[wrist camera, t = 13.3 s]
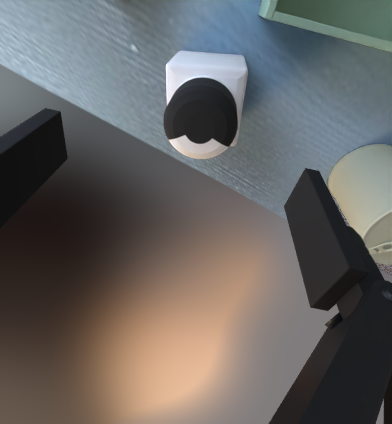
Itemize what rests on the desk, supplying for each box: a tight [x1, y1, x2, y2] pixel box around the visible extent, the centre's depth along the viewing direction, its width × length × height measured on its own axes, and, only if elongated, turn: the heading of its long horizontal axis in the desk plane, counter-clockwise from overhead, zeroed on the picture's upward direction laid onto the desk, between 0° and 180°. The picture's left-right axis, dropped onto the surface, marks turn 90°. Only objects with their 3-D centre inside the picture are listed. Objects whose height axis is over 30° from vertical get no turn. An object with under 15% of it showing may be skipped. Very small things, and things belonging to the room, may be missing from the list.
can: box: [328, 144, 392, 265], centre depth 30 cm, size 9×9×12 cm
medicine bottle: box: [164, 51, 248, 159], centre depth 25 cm, size 7×7×12 cm
